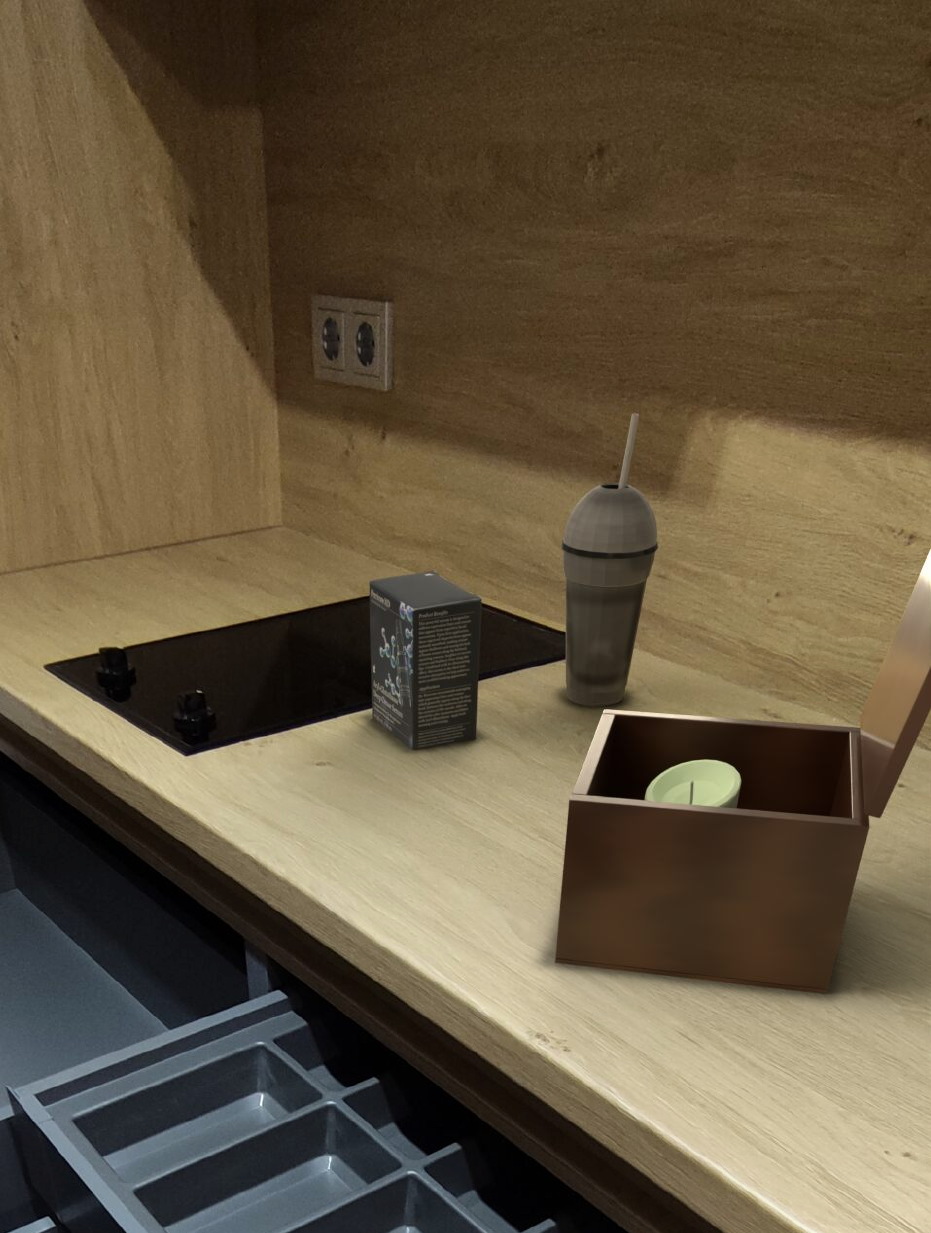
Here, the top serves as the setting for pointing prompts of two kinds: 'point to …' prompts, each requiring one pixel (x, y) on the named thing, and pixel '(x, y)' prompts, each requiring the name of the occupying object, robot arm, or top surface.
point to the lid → (898, 700)
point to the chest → (714, 852)
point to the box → (424, 659)
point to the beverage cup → (606, 584)
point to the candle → (697, 784)
